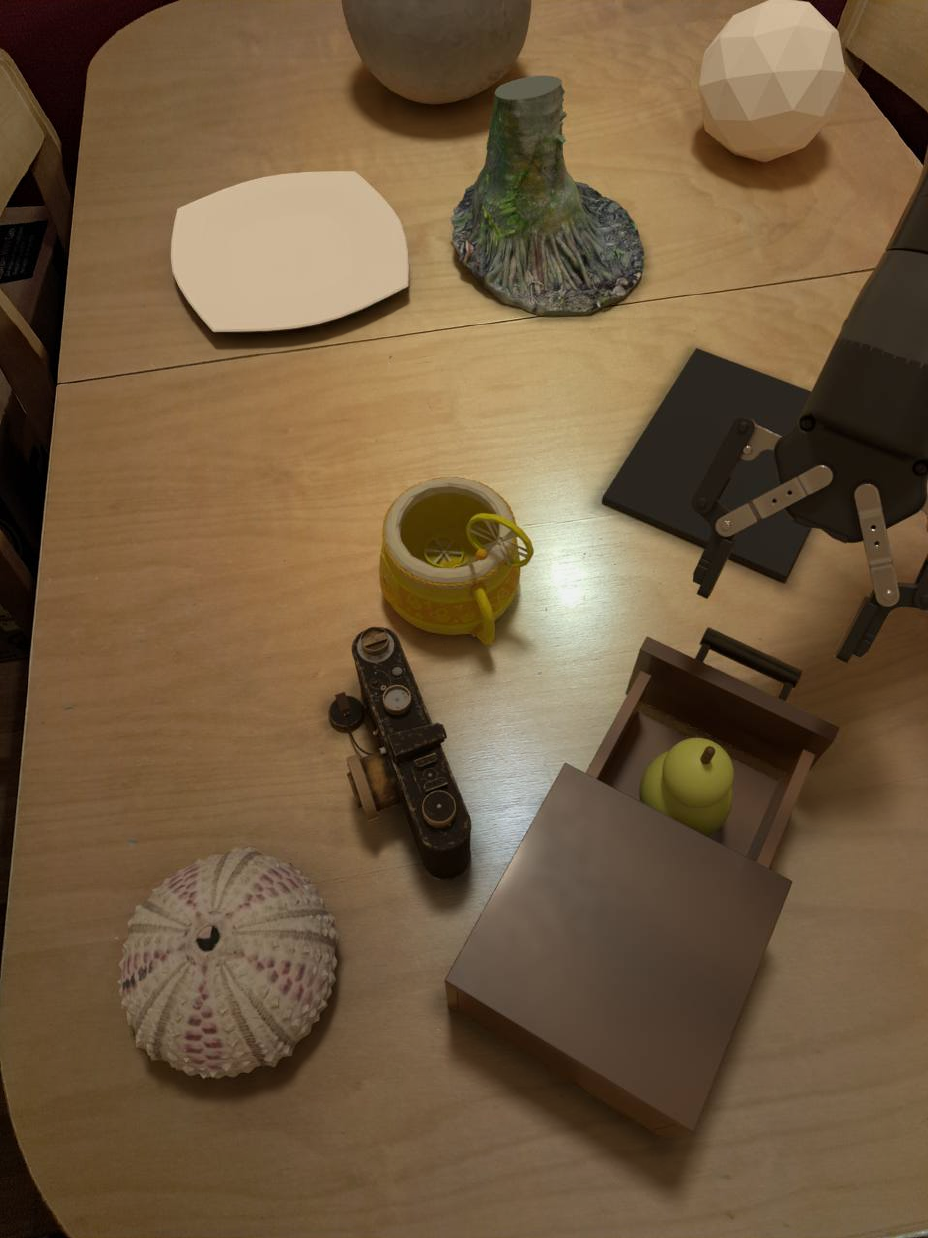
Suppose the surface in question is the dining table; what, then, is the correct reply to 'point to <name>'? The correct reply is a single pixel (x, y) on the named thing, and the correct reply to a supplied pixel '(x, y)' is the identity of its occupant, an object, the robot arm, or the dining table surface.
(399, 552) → the mug
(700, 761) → the pear
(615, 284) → the tree stump
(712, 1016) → the cabinet
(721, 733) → the drawer
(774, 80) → the geometric sphere
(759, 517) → the robot arm
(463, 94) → the bowl
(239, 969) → the sea urchin shell
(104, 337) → the dining table surface
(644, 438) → the mat
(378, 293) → the plate
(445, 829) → the camera
